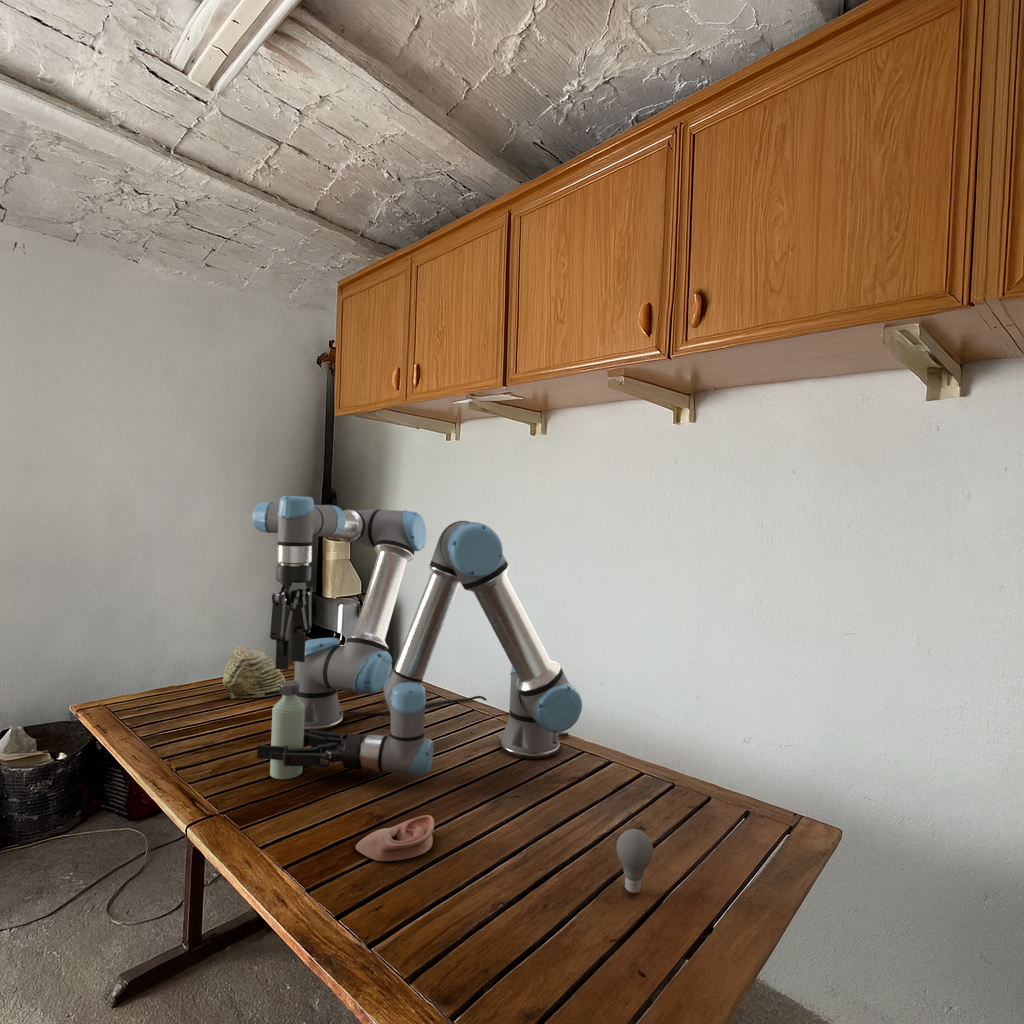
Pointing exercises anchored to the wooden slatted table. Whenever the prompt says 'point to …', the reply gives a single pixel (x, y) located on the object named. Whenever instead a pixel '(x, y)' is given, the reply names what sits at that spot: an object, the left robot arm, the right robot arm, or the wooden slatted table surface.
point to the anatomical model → (399, 840)
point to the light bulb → (634, 857)
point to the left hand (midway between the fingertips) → (290, 664)
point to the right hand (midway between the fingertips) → (266, 744)
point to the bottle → (287, 733)
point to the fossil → (251, 674)
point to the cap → (289, 688)
